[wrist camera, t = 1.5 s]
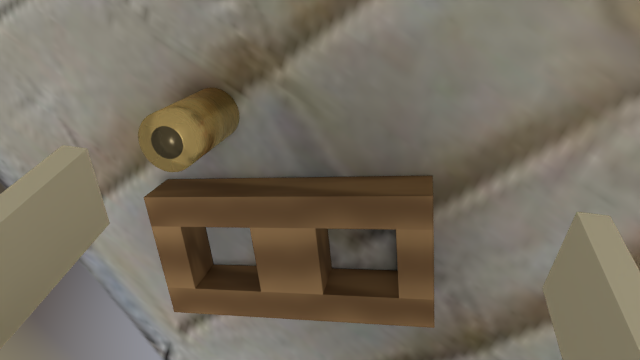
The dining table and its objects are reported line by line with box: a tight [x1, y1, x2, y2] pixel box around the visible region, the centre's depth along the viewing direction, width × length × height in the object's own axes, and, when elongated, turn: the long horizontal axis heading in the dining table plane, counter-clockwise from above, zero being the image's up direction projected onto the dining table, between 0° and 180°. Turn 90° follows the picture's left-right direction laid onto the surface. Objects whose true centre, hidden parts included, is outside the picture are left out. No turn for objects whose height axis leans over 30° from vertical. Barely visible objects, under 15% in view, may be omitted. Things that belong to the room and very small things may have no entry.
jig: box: [144, 176, 434, 328], centre depth 40 cm, size 12×24×4 cm, turn 96°
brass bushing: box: [138, 88, 239, 172], centre depth 35 cm, size 4×4×8 cm
